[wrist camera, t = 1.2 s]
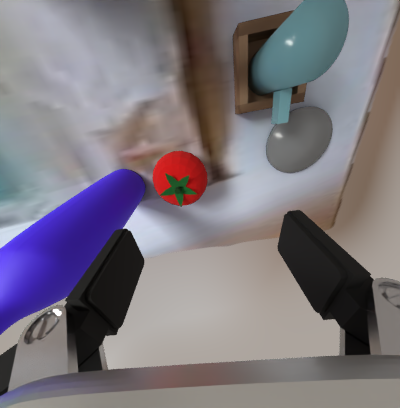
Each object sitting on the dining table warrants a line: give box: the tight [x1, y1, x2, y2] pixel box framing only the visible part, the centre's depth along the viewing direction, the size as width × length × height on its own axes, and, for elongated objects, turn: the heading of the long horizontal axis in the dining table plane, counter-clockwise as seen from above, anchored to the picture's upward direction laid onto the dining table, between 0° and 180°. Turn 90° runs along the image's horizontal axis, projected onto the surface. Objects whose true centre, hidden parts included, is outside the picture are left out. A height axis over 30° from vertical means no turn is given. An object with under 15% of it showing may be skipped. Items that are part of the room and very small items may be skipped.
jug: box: [248, 0, 349, 124], centre depth 20 cm, size 10×6×11 cm, turn 9°
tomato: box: [153, 151, 207, 207], centre depth 28 cm, size 10×10×10 cm
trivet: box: [266, 107, 332, 173], centre depth 29 cm, size 12×12×1 cm
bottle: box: [0, 169, 145, 335], centre depth 21 cm, size 8×8×30 cm
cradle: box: [233, 10, 307, 114], centre depth 22 cm, size 10×10×4 cm
